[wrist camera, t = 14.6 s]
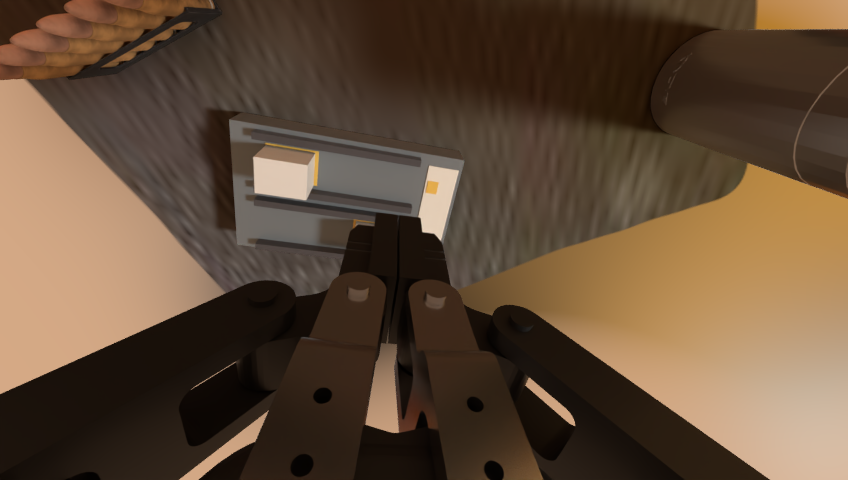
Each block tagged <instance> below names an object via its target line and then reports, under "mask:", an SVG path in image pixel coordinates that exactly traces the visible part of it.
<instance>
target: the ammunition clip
mask: <svg viewBox="0 0 848 480" xmlns="http://www.w3.org/2000/svg"><path fill="white" fill-rule="evenodd" d="M64 9H65V10H66V11H67V12H68V13H64V14H54V15H49V16H46V17H43V18H41V19H40V20H38V21H37V22H36V26H37V27H38V28H40V29H31V30H26V31H22V32H20V33H17V34H15V35H14V36H12V37H11V38H10V42H11V43H12V44H6V45H1V46H0V80H8V79H26V78H28V79H49V78H57V77H65V76H66V77H67V78H68V79H69V80H73V79H81V78H88V77H95V76H103V75H110V74H116V73H118V72H120V71H122V70H124V69H125V68H127V67H129V66H131V65H133V64H134V63H136V62H138V61H140V60H141V59H143V58H145V57H147V56H148V55H150V54H152V53H154V52H156V51H157V50H159V49H161V48H163V47H164V46H166V45H168V44H170V43H172V42H173V41H175V40H177V39H179V38H180V37H182V36H184V35H186V34H188V33H189V32H191V31H193V30H195V29H196V28H198V27H200V26H202V25H204V24H205V23H207V22H209V21H211V20H212V19H214V18H216V17H218V16H220V15H221V14H222V12H221V10H220V8H219V7H218V5H217V3H216V2H215V0H72V1H69V2H68V3H66V4H65V5H64Z"/></svg>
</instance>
